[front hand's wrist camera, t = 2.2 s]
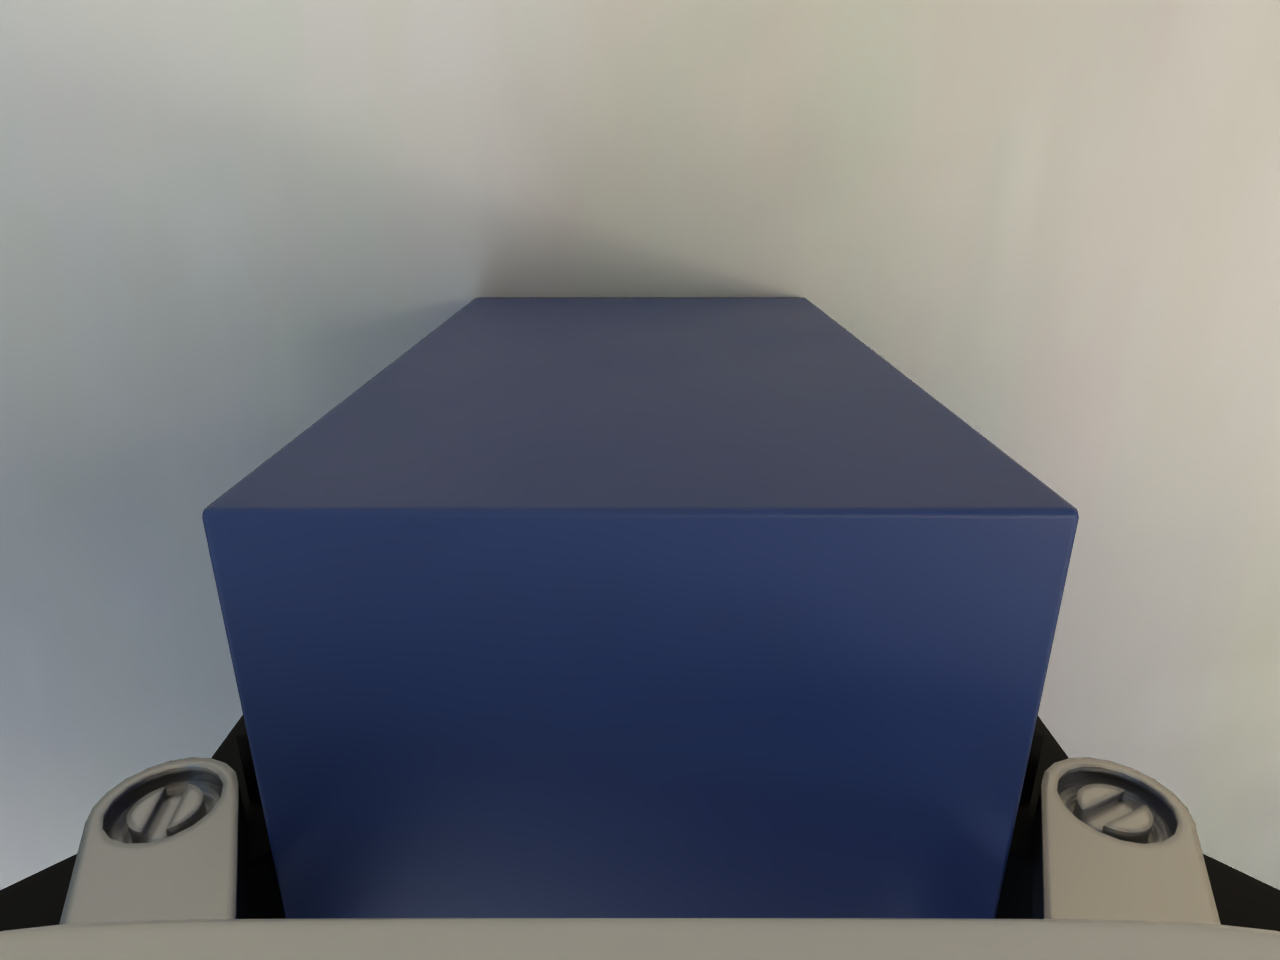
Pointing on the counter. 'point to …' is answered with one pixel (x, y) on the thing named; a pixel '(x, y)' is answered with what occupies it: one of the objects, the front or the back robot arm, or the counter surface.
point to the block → (640, 625)
